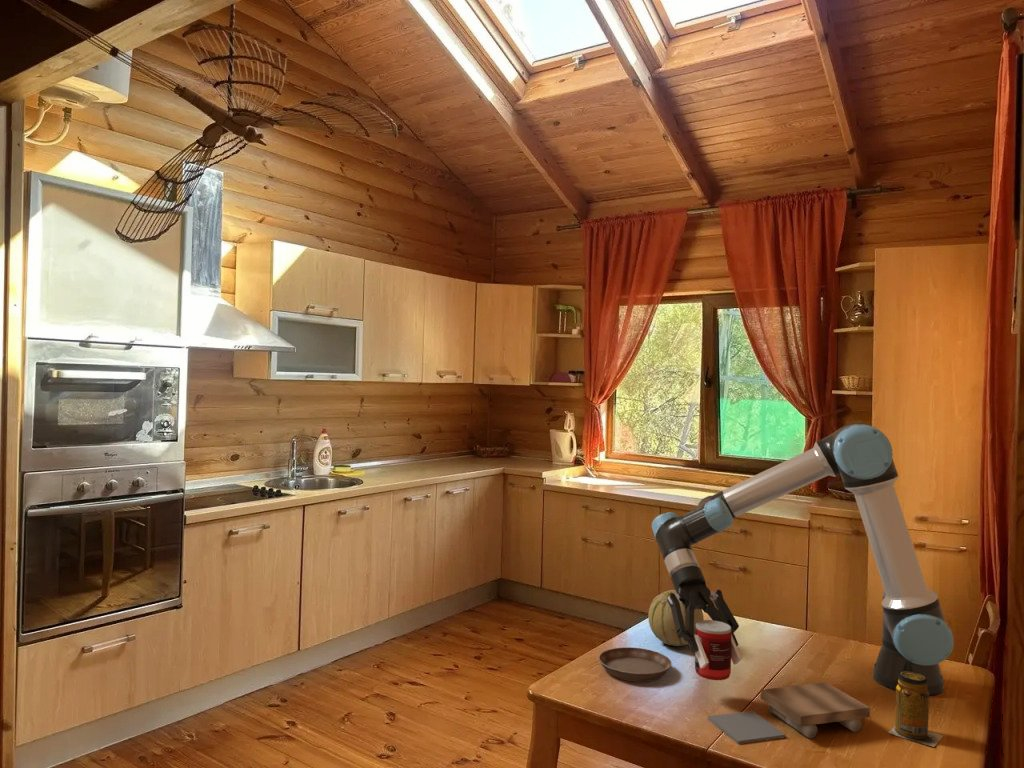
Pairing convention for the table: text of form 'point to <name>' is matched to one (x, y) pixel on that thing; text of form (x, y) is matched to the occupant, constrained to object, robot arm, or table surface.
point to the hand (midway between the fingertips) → (721, 663)
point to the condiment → (913, 710)
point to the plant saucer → (635, 664)
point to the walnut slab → (815, 707)
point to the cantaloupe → (668, 619)
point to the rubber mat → (746, 727)
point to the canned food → (714, 649)
